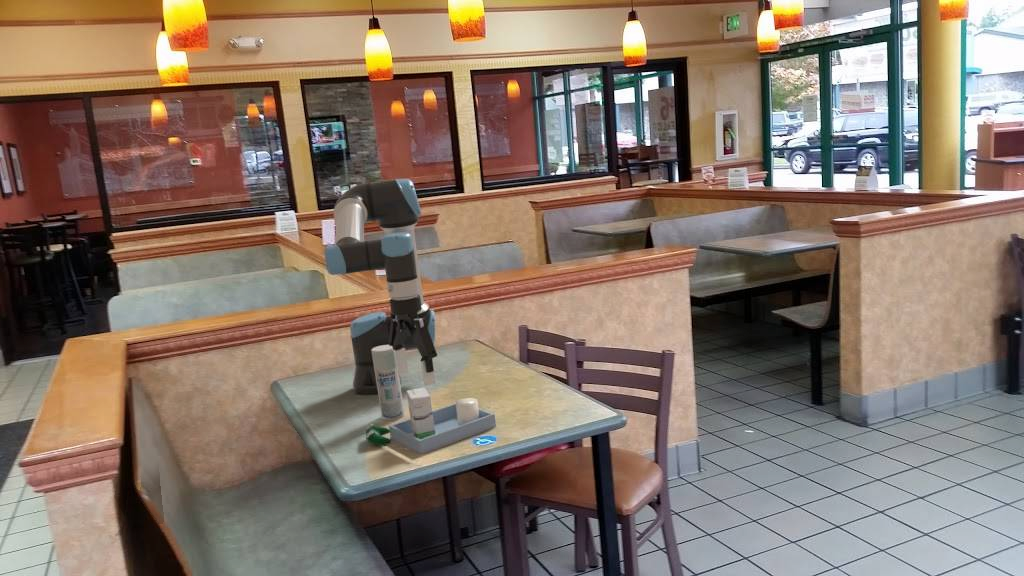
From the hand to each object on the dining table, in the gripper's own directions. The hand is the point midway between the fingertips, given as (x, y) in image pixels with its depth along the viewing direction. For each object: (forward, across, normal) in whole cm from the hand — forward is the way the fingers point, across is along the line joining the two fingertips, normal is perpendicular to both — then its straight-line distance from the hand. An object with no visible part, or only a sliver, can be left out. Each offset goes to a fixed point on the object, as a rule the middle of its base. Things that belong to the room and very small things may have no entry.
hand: (416, 379), depth 190 cm
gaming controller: (+16, -9, -9) cm, 20 cm away
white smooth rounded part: (+15, +5, +11) cm, 19 cm away
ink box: (+16, 0, 0) cm, 16 cm away
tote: (+16, +2, +5) cm, 17 cm away
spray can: (+17, -22, +3) cm, 28 cm away
